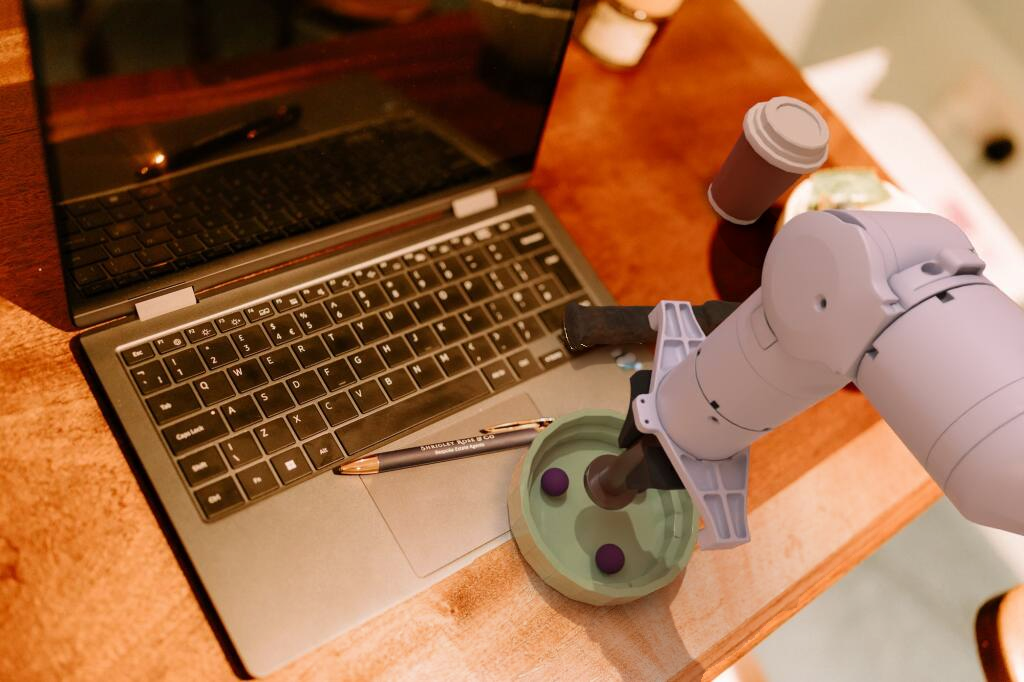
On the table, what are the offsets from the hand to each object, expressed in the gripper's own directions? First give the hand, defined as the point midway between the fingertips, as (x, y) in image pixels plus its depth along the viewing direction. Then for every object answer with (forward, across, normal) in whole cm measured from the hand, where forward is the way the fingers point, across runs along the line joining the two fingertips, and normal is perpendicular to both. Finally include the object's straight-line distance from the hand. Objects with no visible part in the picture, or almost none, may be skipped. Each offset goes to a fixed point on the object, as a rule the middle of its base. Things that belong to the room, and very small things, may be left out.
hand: (635, 463), depth 47 cm
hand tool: (+11, -16, +10) cm, 22 cm away
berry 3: (+8, -1, +4) cm, 9 cm away
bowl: (+10, +1, +1) cm, 10 cm away
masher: (+5, 0, 0) cm, 5 cm away
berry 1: (+8, -1, -3) cm, 9 cm away
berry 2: (+8, +5, +1) cm, 9 cm away
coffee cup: (+11, -33, +24) cm, 42 cm away
